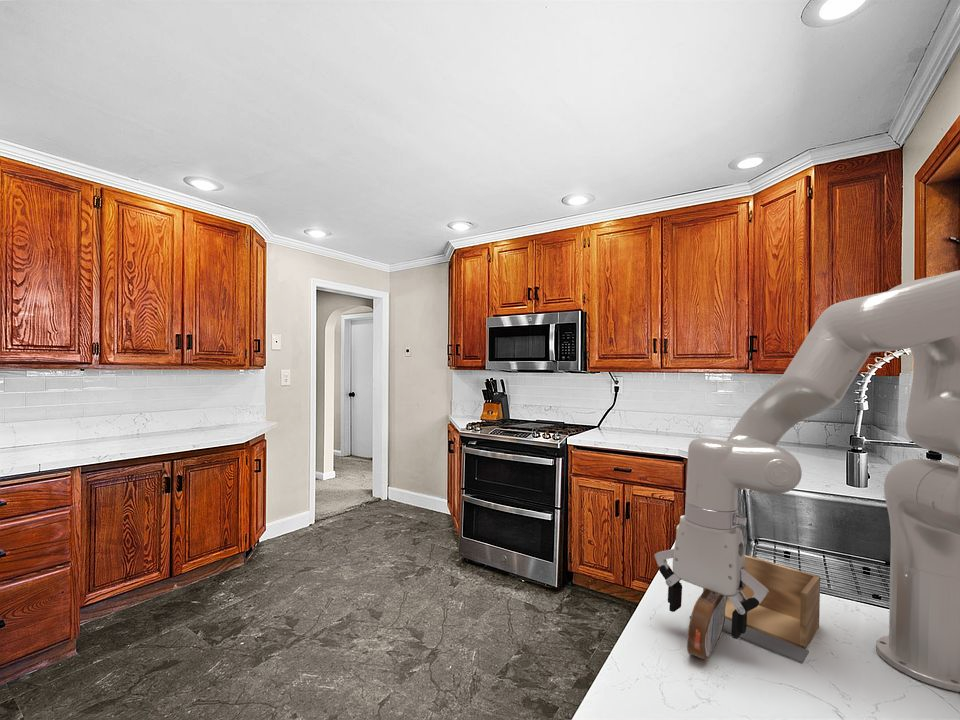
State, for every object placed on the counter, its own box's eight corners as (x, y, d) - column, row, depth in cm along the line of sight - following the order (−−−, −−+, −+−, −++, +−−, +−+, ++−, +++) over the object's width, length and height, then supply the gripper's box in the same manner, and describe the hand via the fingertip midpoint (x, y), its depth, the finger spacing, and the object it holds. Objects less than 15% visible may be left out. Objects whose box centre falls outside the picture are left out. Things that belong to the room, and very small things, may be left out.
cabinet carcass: (819, 627, 82) (820, 568, 82) (805, 650, 75) (806, 585, 75) (721, 593, 94) (722, 541, 94) (701, 610, 87) (703, 554, 87)
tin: (709, 623, 82) (710, 575, 82) (729, 630, 80) (730, 581, 80) (684, 663, 71) (685, 607, 71) (706, 673, 69) (708, 615, 69)
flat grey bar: (808, 652, 75) (808, 650, 75) (802, 663, 72) (802, 661, 72) (699, 609, 87) (699, 608, 87) (689, 618, 84) (689, 616, 84)
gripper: (777, 526, 72) (772, 638, 72) (668, 499, 85) (663, 593, 84) (763, 537, 67) (757, 656, 67) (648, 506, 80) (643, 606, 79)
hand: (704, 621), depth 76 cm, fingers open, 9 cm apart
